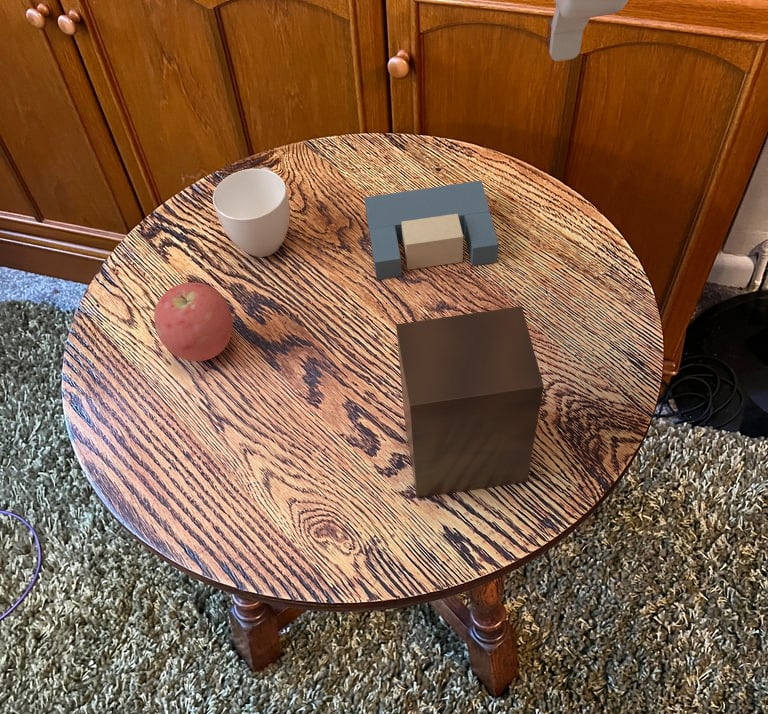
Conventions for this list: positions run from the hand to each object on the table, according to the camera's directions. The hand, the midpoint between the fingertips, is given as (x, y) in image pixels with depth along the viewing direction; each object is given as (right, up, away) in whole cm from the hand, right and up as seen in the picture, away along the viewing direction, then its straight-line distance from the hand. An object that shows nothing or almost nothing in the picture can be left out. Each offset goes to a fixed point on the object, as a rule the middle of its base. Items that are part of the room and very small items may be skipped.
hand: (545, 10), depth 50 cm
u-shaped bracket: (-5, -2, +35) cm, 35 cm away
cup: (-24, -2, +37) cm, 44 cm away
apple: (-29, -16, +30) cm, 44 cm away
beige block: (-5, -5, +33) cm, 34 cm away
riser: (-3, -27, +21) cm, 34 cm away
